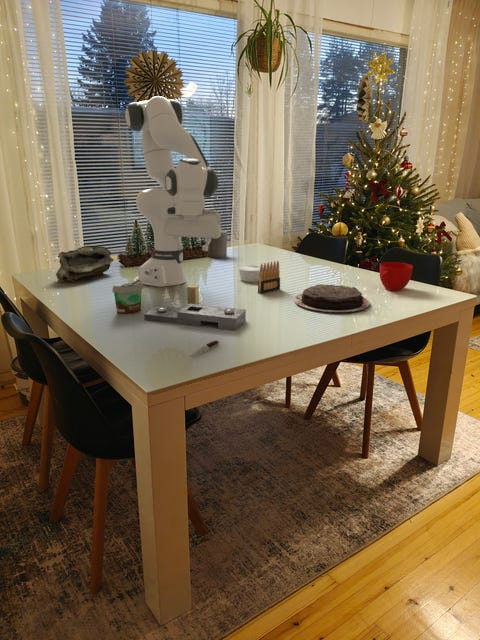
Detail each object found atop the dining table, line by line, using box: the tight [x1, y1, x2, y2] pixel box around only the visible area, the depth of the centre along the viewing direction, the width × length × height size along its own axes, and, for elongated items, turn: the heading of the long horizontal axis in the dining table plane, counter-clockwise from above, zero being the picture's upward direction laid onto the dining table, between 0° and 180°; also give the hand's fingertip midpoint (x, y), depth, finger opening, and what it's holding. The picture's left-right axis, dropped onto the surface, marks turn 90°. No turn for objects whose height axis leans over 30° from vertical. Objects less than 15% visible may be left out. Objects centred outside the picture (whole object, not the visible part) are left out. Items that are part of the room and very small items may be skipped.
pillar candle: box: [208, 229, 228, 259], centre depth 263 cm, size 10×10×15 cm
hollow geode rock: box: [55, 245, 114, 283], centre depth 218 cm, size 28×13×15 cm
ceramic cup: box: [379, 261, 414, 292], centre depth 203 cm, size 13×17×10 cm
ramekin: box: [238, 265, 261, 283], centre depth 218 cm, size 11×11×5 cm
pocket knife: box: [189, 340, 221, 358], centre depth 139 cm, size 14×1×2 cm, turn 146°
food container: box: [112, 279, 144, 315], centre depth 172 cm, size 12×6×10 cm, turn 148°
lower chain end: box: [143, 305, 208, 327], centre depth 166 cm, size 20×10×3 cm, turn 72°
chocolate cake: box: [293, 283, 371, 315], centre depth 185 cm, size 28×28×7 cm
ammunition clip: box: [257, 260, 281, 295], centre depth 199 cm, size 11×2×12 cm, turn 130°
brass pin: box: [186, 284, 200, 305], centre depth 177 cm, size 3×3×8 cm
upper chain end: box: [177, 303, 247, 332], centre depth 162 cm, size 20×10×5 cm, turn 72°
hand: (192, 250), depth 171 cm, fingers open, 8 cm apart
